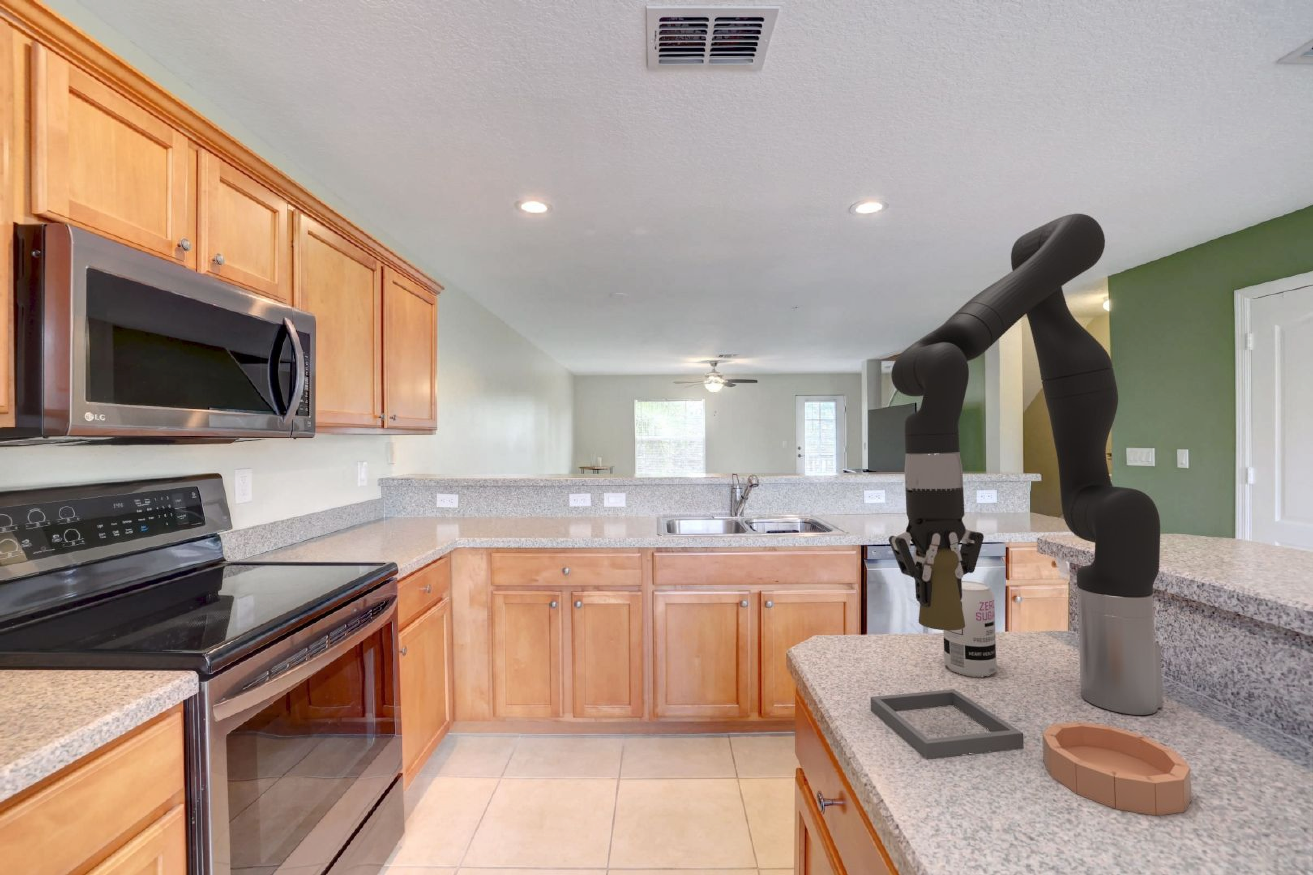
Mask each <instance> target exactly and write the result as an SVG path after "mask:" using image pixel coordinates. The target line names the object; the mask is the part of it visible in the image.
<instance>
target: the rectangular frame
mask: <svg viewBox="0 0 1313 875" xmlns="http://www.w3.org/2000/svg"><path fill="white" fill-rule="evenodd" d="M948 705H951V706H953V705H954V706H956V707H957V708H959V709H960V710H962V711H963V712H964V713H963V712H962V711H961V712H962V713H963V714H965V713H966V714H967V715H966V714H965V715H966V716H968V715H969V716H970V717H969V716H968V717H969V718H971V719H972V718H973V719H972V720H974V719H975V720H976V721H975V720H974V721H975V722H977V723H978V722H979V723H981V724H982V725H983V726H982V725H981V724H980V725H981V726H982V727H984V728H985V727H986V728H985V729H987V728H988V729H989V730H988V729H987V730H988V732H981V733H971V734H962V735H960V734H959V735H953V736H944V737H934V738H928V737H927V736H926V735H924V734H923V733H922V732H921V731H920V730H918V729H917V728H916V727H914V725H913V724H911V723H909V722H908V720H906V719H905V718H904V717H902V716H901V715H900V714H899V713H898V712H899V711H907V710H918V709H929V708H938V706H941V707H949V706H948ZM954 706H953V707H954ZM956 707H955V708H956ZM957 708H956V709H957ZM959 709H958V710H959ZM960 710H959V711H960ZM870 711H871V712H872V713H873V714H875V715H876V716H877V717H878V718H879V719H880V720H882V721H883V723H885V724H886V725H888V727H889V728H890V729H891V730H893V731H894V732H895V733H896V734H897V735H898V736H900V737H901V738H902V739H903V740H905V741H904V742H907V744H909V745H910V746H911V747H912V749H915V750H916V751H917V752H918V753H919V754H920V755H921V756H923V757H924V759H926V760H930V759H940V758H948V757H959V756H964V755H963V754H968V755H970V754H969V753H977V754H984V753H983V752H986V753H990V752H989V751H995V752H1000V751H999V750H1003V751H1008V750H1007V749H1012V750H1018V749H1020V748H1021V749H1024V748H1025V747H1024V745H1025V744H1024V732H1022V731H1021V730H1019V729H1017V728H1016V727H1015V726H1013V725H1011V724H1010V723H1008V722H1007V721H1005V720H1004V719H1002V718H1000V717H999V716H997V715H996V714H994V713H992V712H991V711H989V710H988V709H986V708H985V707H983V706H982V705H979V704H978V703H977V702H975V701H974V700H972V699H970V698H969V697H967V696H966V695H964V694H963V693H960V691H958V690H956V689H954V688H951V689H942V690H941V689H940V690H932V691H931V690H930V691H921V692H918V691H917V692H910V693H900V694H899V693H898V694H888V695H877V696H870ZM979 723H978V724H979ZM981 752H982V753H981ZM958 755H959V756H958Z"/></svg>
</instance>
